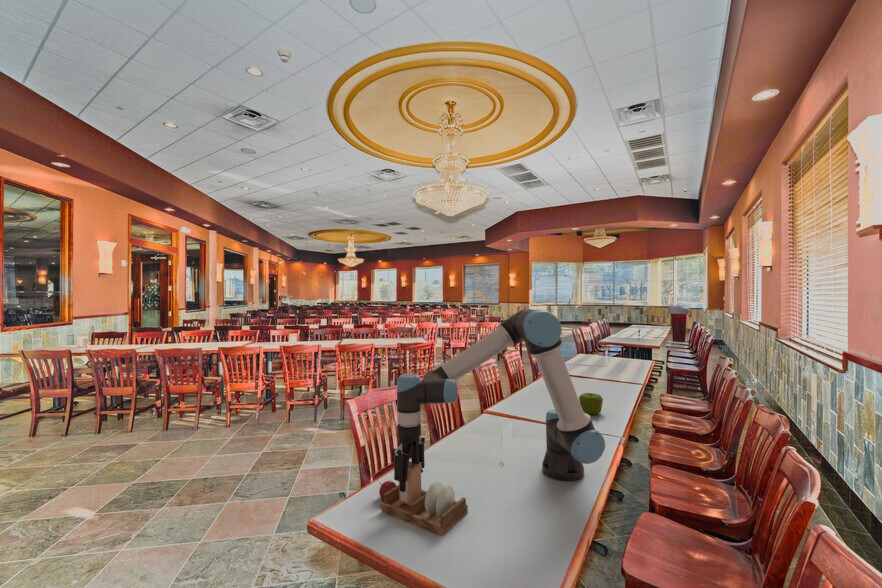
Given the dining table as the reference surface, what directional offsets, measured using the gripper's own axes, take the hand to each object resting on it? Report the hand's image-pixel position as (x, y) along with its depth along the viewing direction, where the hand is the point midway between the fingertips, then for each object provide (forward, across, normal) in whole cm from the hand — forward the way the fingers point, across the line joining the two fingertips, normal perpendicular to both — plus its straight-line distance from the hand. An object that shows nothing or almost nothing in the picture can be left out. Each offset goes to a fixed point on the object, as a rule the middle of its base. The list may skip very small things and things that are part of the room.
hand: (410, 496), depth 123 cm
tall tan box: (+1, 0, 0) cm, 1 cm away
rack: (+3, 0, +6) cm, 6 cm away
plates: (+2, 0, +12) cm, 12 cm away
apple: (+4, -132, +24) cm, 134 cm away
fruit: (+4, 0, -11) cm, 12 cm away
